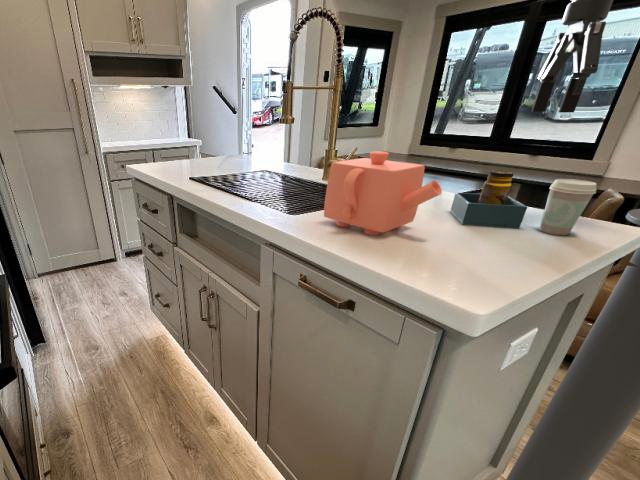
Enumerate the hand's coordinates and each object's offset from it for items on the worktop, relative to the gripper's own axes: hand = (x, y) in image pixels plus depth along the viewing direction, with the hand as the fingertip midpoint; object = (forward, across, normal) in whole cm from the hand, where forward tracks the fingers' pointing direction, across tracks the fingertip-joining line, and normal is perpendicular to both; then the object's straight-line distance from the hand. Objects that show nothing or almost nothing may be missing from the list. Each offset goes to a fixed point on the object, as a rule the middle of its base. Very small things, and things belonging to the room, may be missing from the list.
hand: (551, 112), depth 86 cm
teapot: (+26, +18, -37) cm, 49 cm away
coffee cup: (+26, +10, +5) cm, 29 cm away
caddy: (+26, +3, -9) cm, 28 cm away
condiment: (+26, +3, -9) cm, 27 cm away
